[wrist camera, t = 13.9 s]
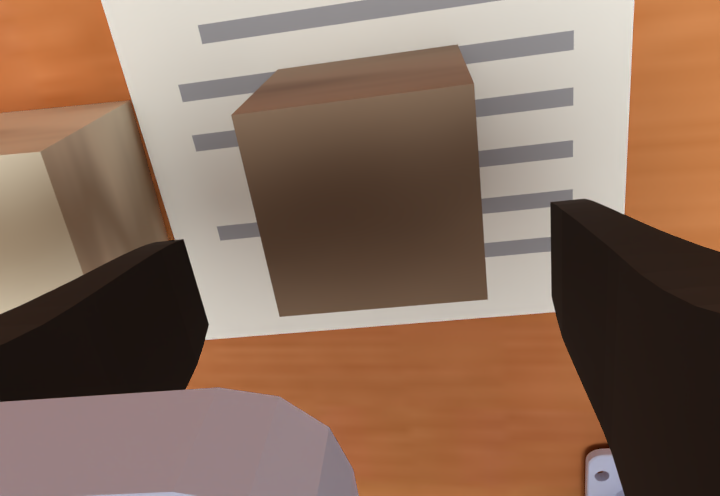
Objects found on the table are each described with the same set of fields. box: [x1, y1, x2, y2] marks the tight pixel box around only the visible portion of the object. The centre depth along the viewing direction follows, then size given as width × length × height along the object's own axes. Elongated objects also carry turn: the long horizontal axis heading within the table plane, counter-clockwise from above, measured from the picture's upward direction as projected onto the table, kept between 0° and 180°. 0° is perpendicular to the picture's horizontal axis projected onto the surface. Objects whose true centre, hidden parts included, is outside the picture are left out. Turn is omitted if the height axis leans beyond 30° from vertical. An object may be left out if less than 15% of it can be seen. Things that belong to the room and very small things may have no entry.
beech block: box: [0, 100, 169, 314], centre depth 17 cm, size 5×5×5 cm
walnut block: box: [231, 44, 488, 317], centre depth 16 cm, size 5×5×5 cm
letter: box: [101, 0, 634, 340], centre depth 18 cm, size 12×14×1 cm
